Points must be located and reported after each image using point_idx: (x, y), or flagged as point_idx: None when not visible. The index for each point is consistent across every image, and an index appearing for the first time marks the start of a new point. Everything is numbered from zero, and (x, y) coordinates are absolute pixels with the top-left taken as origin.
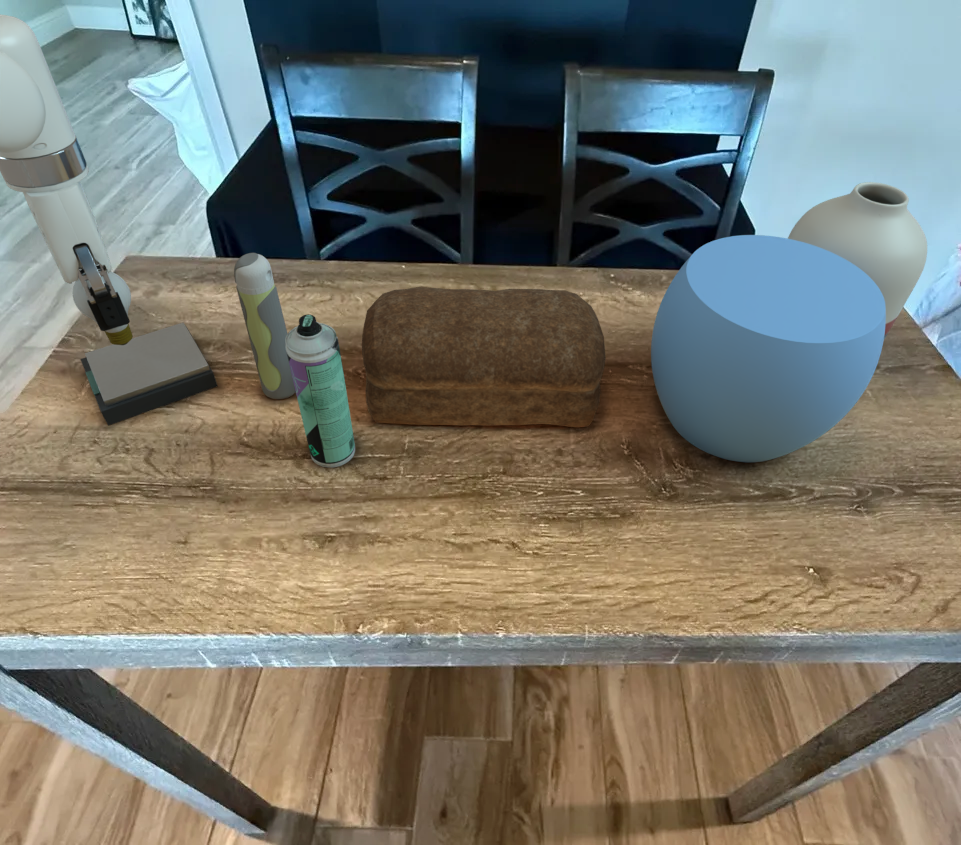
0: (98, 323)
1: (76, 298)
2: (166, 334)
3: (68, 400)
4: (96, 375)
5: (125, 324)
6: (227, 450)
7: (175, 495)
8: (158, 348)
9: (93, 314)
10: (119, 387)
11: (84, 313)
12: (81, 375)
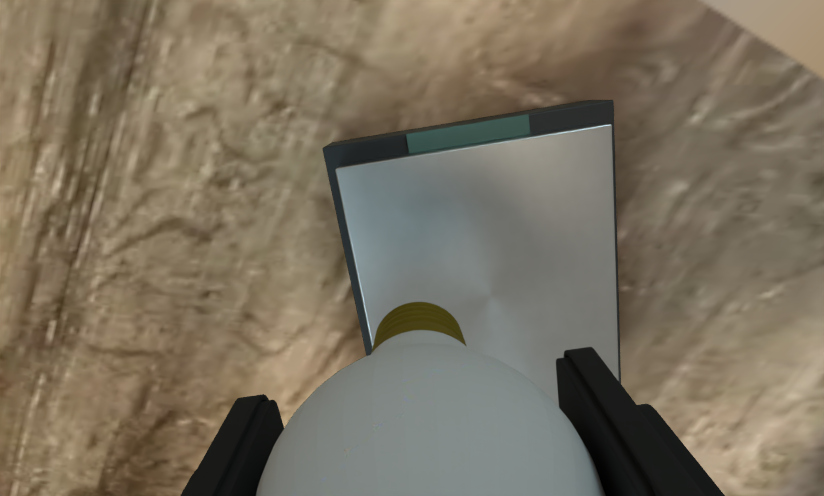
0: (222, 431)
1: (333, 451)
2: None
3: (487, 39)
4: (472, 154)
5: None
6: (157, 385)
7: (40, 270)
8: (525, 332)
9: (193, 479)
10: (383, 216)
11: (321, 385)
12: (588, 81)
